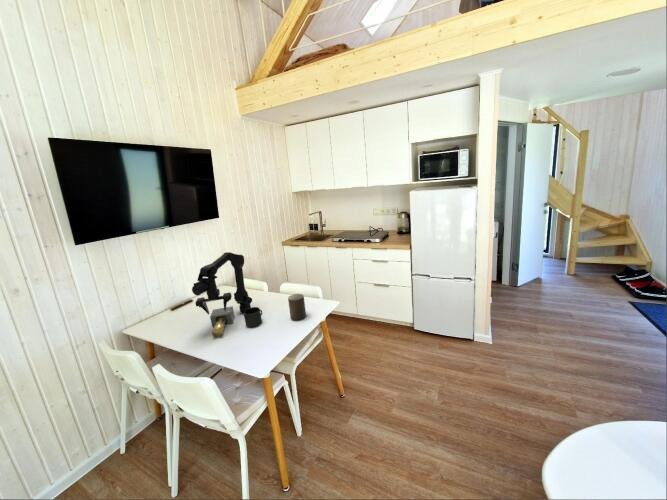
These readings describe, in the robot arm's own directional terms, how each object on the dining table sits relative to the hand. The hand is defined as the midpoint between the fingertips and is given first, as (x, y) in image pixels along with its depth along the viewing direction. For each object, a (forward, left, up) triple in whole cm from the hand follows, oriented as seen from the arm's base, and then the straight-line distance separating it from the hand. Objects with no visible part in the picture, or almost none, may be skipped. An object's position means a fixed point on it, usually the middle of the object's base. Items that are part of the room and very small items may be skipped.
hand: (217, 312), depth 159 cm
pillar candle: (-46, +3, -12) cm, 48 cm away
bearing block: (0, -10, -12) cm, 15 cm away
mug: (-20, 0, -12) cm, 23 cm away
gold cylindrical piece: (0, +3, -11) cm, 11 cm away
